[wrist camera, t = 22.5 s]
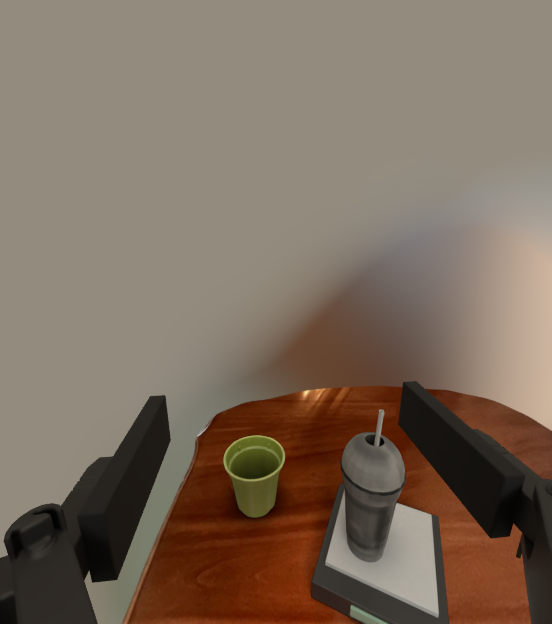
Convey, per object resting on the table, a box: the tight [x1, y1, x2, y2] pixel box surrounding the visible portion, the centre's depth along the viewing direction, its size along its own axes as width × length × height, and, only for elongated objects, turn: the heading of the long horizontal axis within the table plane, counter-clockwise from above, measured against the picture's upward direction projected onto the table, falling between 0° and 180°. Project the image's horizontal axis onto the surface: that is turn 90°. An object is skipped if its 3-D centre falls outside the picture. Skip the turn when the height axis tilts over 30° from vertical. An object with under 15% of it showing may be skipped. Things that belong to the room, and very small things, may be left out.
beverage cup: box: [340, 410, 406, 563], centre depth 34 cm, size 7×7×20 cm
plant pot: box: [224, 435, 285, 518], centre depth 45 cm, size 9×9×9 cm
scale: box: [311, 483, 449, 624], centre depth 37 cm, size 14×15×3 cm
